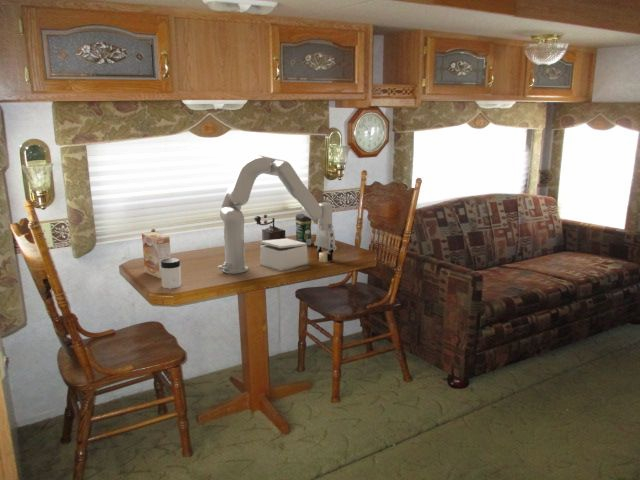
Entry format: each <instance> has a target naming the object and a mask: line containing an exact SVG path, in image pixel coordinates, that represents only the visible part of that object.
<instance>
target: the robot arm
mask: <svg viewBox="0 0 640 480" xmlns="http://www.w3.org/2000/svg"><path fill="white" fill-rule="evenodd" d="M262 174H263V175H264V174H265V175H270V176H275V177H276V176H277V177H278V179H279V180H280V181H281V184H282V185H283V186H284V187H285V189H286V190H287V192H288V193H289V195H290V196H292V197H293V198H294V199H295V200H296V201H297V202H298V203H299V204H300V205H301V206H302V207H301V214H304V215H305V216H306V217H308V218H311V220H313V221H315V220H316V221H317V229H316V235H315V236H316V237H315V241H313V245H314V247H315V248H316V251H317V259H318V260H319V252H323V249H326V250H327V252H328V254H327V261H331V262H332V261H333V256H334V252H335V251H336V250H337V248H338V247H337V245H336V239H335V238H336V237H335V232H334V229H333V228H334V226H333V204H332V203H331V202H325V201H324V202H318V201H317V198H316V197H315V196H314V195H313V194H312V193H311V192H310V190H309V189H308V188H307V186H306V185H305V184H304V182H303V181H302V180H301V178H300V177H299V175H298V173H297V172H296V171H295V168H294V167H293V166H292V165H291V163H289V162H288V161H287V160H283V159H278V158H272V157H269V156H265V155H259V154H255V155H253V156H252V157H251V158H250V159H249V160H248V161H247V162H245V164H243V166H241V168H240V170H239V171H238V174H237V177H236V179H235V182H234V184H232V185H231V186H229V187H228V188H227V190H226V192H225V195H224V198H223V201H222V204H221V208H220V211H219V215H220V216H219V217H220V219H221V220H222V221H223V223H224V225H223V227H224V229H223V240H224V242H223V243H224V262H223V264H222V265H217V266H216V269H217V270H218V271H219V270H222V272H223V273H226V274H229V275H230V274H231V275H232V274H237V275H238V274H243V273H246V272H247V271H249V267H248V266H247V265H246V262H245V261H246V259H245V257H246V256H245V236H244V235H245V234H244V233H245V232H244V229H245V216H244V213H243V212H242V211H241V210H242V209H241V208H242V206H245V205H246V204H247V203H248V201H249V200H250V197H251V192H252V189H253V186H254V184H255V182H256V180H257V178H258V177H259V176H260V175H262Z"/></svg>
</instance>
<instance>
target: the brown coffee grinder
mask: <svg viewBox="0 0 640 480" xmlns="http://www.w3.org/2000/svg"><path fill="white" fill-rule="evenodd" d="M253 219H254V221H255V222H256V225H258V226H259V225H260V226H267V225H269V227H267V228H263V229H261V239H262V240H261V241H265V240H276V239H286V238H287V237H286V230H285V229H283V228H279V227H277V226H275V220H276V219H275V217H272V220H271V221H269V222H266V223H262V222H261V220H262V217H261V216H259V215H256V216H255V217H254V218H253ZM270 224H272V225H270ZM261 244H262V245H261V246H263V245H266V244H263V243H261Z"/></svg>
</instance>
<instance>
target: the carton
mask: <svg viewBox="0 0 640 480" xmlns="http://www.w3.org/2000/svg"><path fill="white" fill-rule="evenodd" d="M259 254H260V255H259V256H260V257H259V258H260V259H259V260H260V262H259V263H260V266H263V267H265V268H269V269H273V270H275V271H279V272H283V271H287V270H291V269H295V268H298V266H299V267H302V266H305V265H308V246H307V245H305V246H296V247H287V248H278V247H274V246H270V245H260V246H259Z"/></svg>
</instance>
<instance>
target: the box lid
mask: <svg viewBox="0 0 640 480" xmlns="http://www.w3.org/2000/svg"><path fill="white" fill-rule="evenodd" d="M285 238H286V239H276V240H265V241H262V240H260V241H259V243H260V244H262V243H263V244H266V245H270V246H274V247H278V248H287V247H296V246H305V245H308V243H305V242H301V241H296V239H291V238H288V237H285Z"/></svg>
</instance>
